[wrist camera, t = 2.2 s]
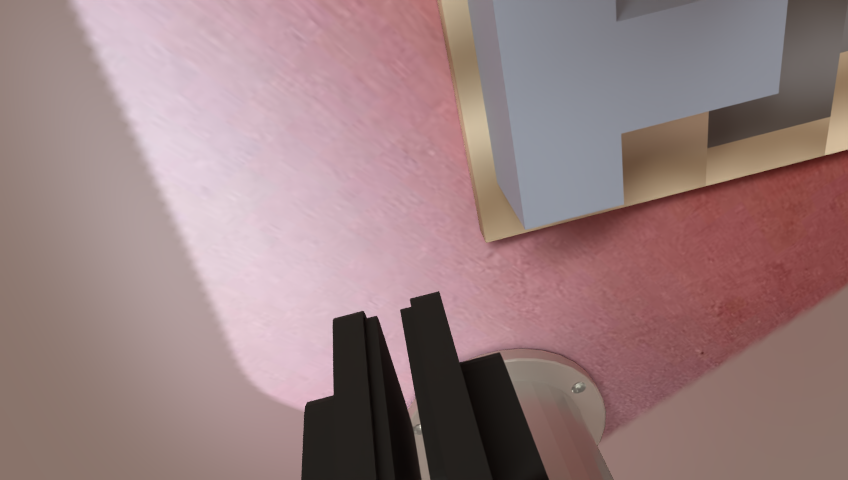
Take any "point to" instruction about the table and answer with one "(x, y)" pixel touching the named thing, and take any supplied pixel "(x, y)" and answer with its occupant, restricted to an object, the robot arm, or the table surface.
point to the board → (685, 119)
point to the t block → (608, 85)
